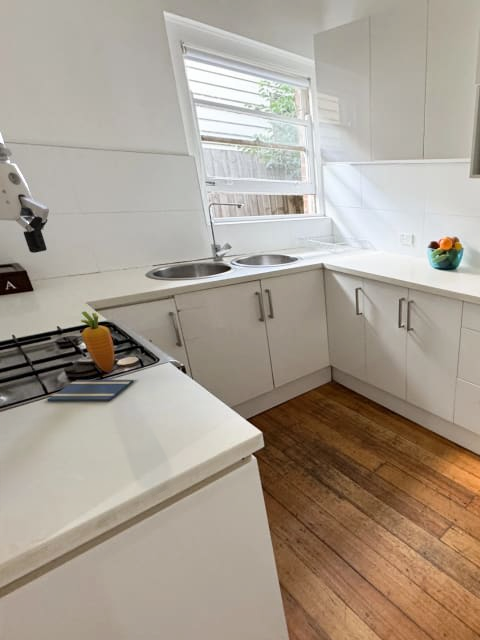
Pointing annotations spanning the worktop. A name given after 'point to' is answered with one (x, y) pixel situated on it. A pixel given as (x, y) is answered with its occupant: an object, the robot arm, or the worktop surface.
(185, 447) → the worktop surface
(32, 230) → the robot arm
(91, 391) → the dish cloth
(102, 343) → the carrot
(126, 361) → the wooden spoon
